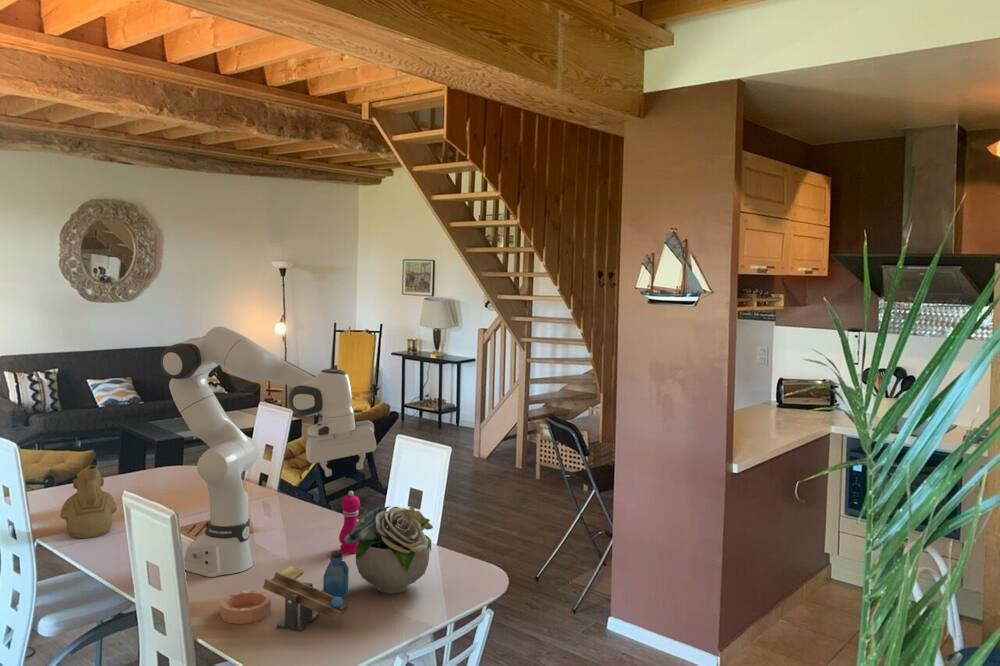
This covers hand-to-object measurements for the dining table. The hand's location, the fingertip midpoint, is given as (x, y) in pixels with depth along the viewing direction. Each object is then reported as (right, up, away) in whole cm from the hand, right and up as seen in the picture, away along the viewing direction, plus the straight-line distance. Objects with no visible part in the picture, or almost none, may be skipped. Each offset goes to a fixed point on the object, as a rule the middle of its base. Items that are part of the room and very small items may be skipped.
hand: (344, 472), depth 214 cm
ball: (+3, -29, -24) cm, 38 cm away
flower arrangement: (+14, -34, +2) cm, 37 cm away
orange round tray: (-23, -34, -17) cm, 44 cm away
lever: (-5, -29, -18) cm, 34 cm away
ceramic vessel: (-96, -29, +41) cm, 108 cm away
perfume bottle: (-2, -34, -3) cm, 34 cm away
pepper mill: (-5, -32, +31) cm, 45 cm away
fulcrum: (-8, -35, -21) cm, 41 cm away
